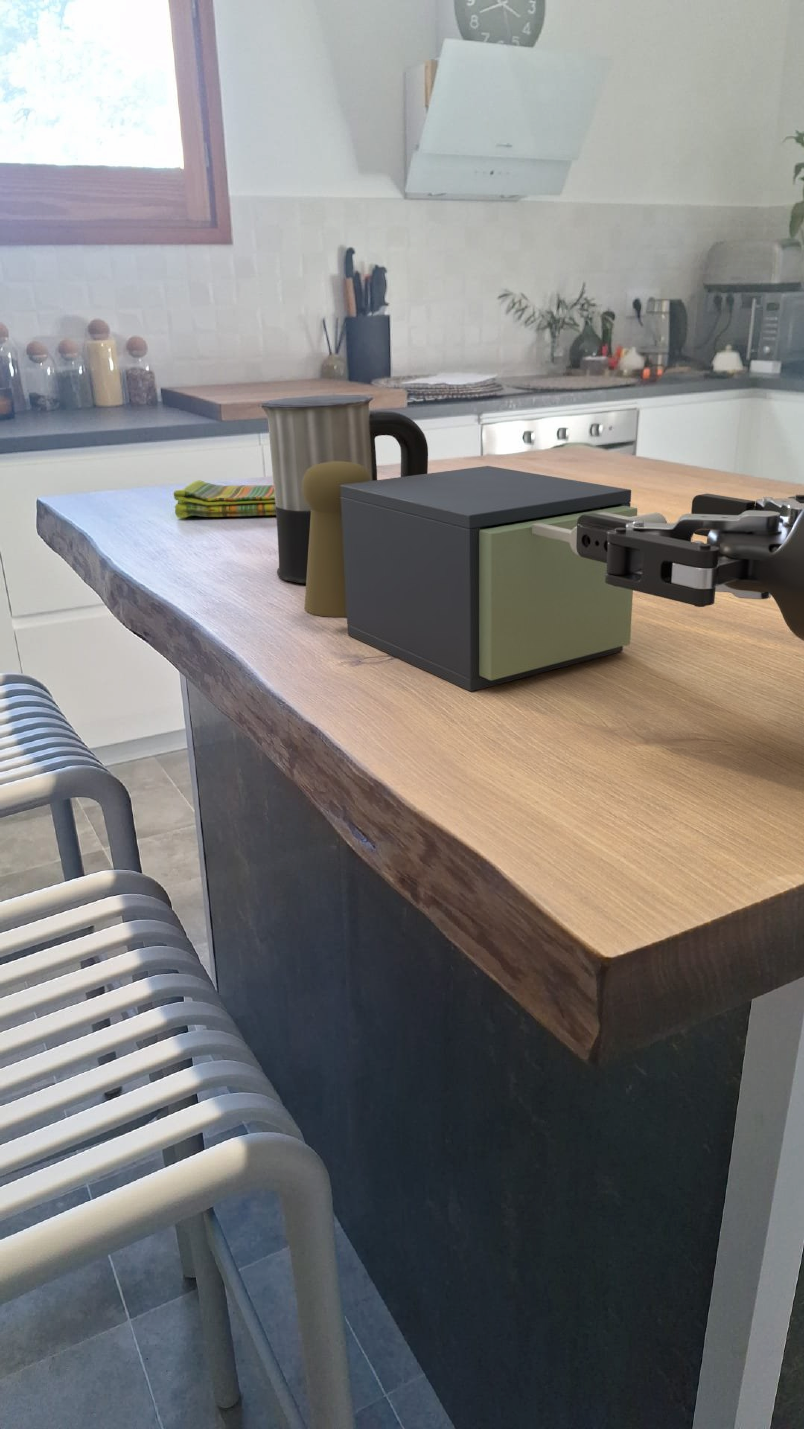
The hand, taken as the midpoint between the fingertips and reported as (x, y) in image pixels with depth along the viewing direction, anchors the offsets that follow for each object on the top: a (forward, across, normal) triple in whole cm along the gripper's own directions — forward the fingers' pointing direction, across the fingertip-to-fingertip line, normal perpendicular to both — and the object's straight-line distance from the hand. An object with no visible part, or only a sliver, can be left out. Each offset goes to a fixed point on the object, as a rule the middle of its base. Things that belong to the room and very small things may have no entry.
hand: (640, 523), depth 55 cm
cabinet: (+14, 0, +10) cm, 18 cm away
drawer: (+10, 0, +9) cm, 14 cm away
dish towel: (+68, -20, +11) cm, 72 cm away
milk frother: (+42, -4, +11) cm, 43 cm away
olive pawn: (+28, +3, +11) cm, 30 cm away
